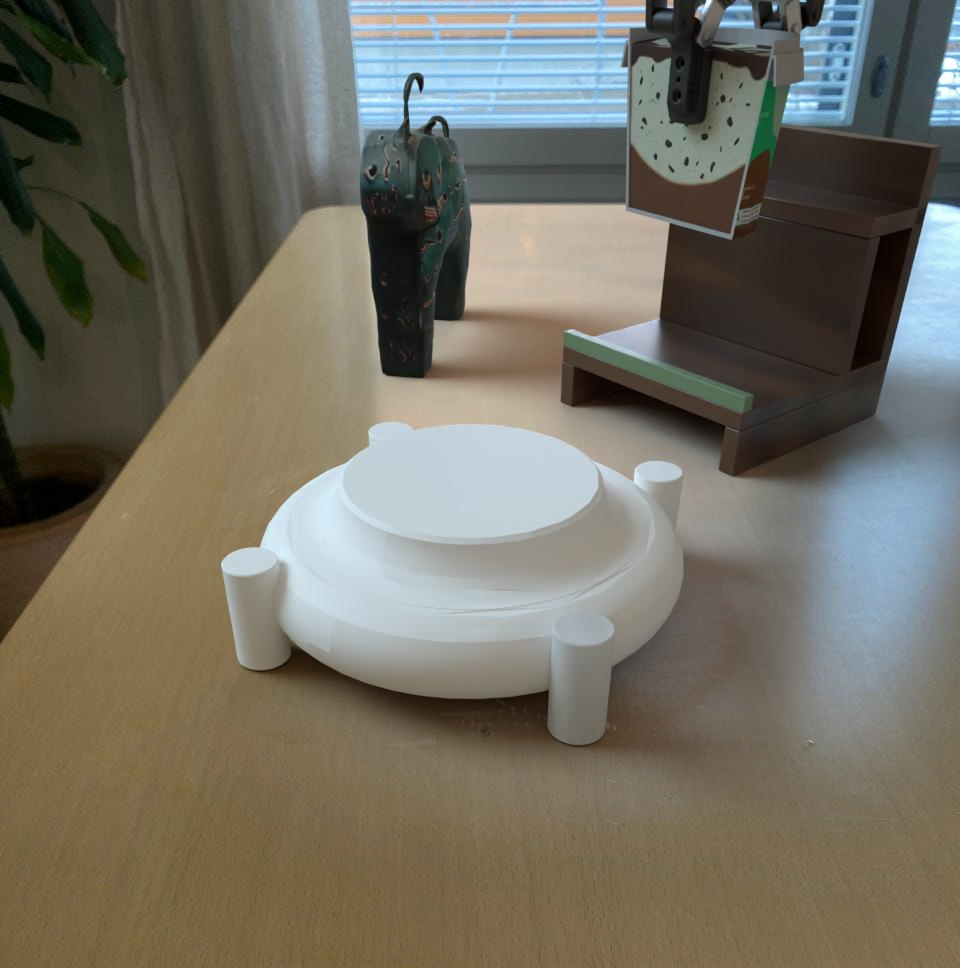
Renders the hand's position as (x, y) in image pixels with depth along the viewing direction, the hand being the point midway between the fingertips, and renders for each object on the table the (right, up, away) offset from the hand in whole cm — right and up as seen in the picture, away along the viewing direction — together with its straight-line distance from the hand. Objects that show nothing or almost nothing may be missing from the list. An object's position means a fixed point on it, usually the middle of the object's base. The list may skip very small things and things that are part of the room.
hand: (724, 116), depth 58 cm
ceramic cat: (-19, -6, +25) cm, 32 cm away
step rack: (+3, -14, +13) cm, 19 cm away
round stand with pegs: (-15, -29, -8) cm, 34 cm away
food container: (0, -5, +3) cm, 6 cm away
